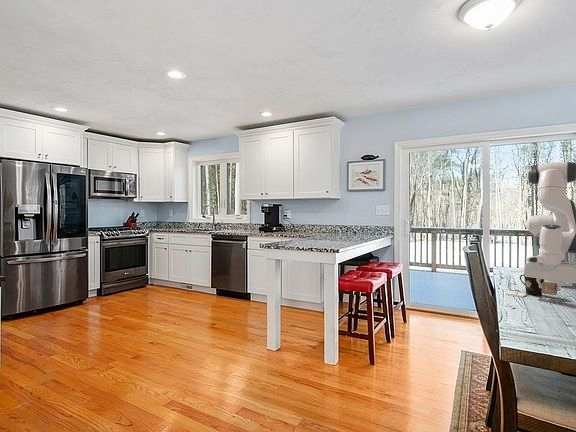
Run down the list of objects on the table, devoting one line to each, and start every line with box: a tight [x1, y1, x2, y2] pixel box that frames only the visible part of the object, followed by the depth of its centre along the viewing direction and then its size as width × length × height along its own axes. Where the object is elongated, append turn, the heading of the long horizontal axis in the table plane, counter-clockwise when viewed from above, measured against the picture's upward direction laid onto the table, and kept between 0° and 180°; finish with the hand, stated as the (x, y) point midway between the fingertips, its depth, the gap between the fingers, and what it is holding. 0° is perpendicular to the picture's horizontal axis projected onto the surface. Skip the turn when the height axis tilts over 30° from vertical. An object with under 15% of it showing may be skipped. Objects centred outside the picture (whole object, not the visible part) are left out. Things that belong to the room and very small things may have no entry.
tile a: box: [537, 296, 561, 304], centre depth 165 cm, size 7×7×1 cm
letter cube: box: [541, 282, 558, 296], centre depth 165 cm, size 5×5×5 cm
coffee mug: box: [519, 274, 544, 297], centre depth 178 cm, size 12×9×10 cm
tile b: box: [505, 291, 528, 298], centre depth 176 cm, size 7×7×1 cm
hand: (549, 289), depth 165 cm, fingers closed on letter cube, 5 cm apart
